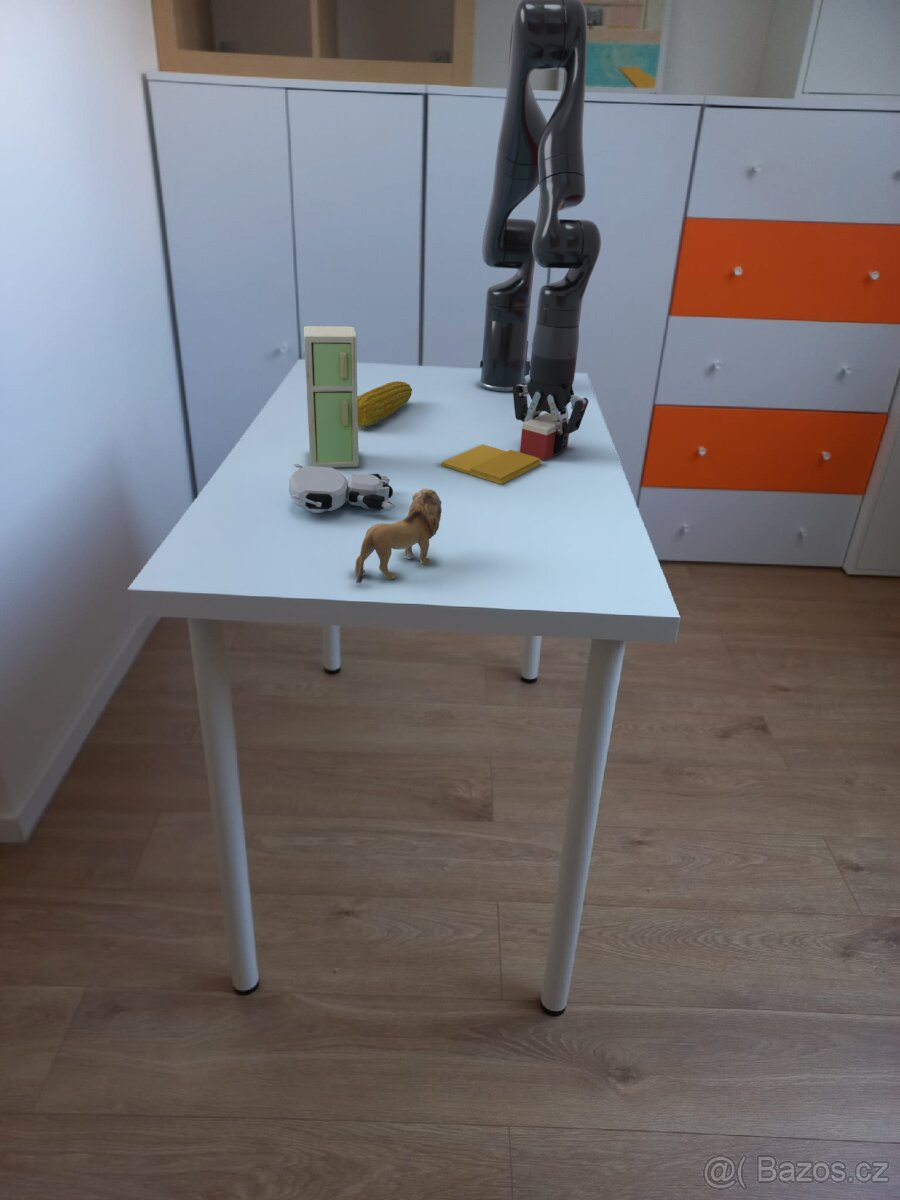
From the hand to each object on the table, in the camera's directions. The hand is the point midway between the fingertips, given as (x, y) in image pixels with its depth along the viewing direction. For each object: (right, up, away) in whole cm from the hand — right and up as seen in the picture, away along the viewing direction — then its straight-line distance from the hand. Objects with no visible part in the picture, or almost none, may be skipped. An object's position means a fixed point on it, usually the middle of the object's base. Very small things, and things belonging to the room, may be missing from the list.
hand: (543, 449), depth 146 cm
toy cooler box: (0, 0, 0) cm, 0 cm away
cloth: (-10, -4, -7) cm, 12 cm away
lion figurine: (-23, -22, -39) cm, 51 cm away
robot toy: (-32, -13, -24) cm, 42 cm away
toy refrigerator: (-36, -4, -9) cm, 37 cm away
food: (-29, +9, +13) cm, 33 cm away
